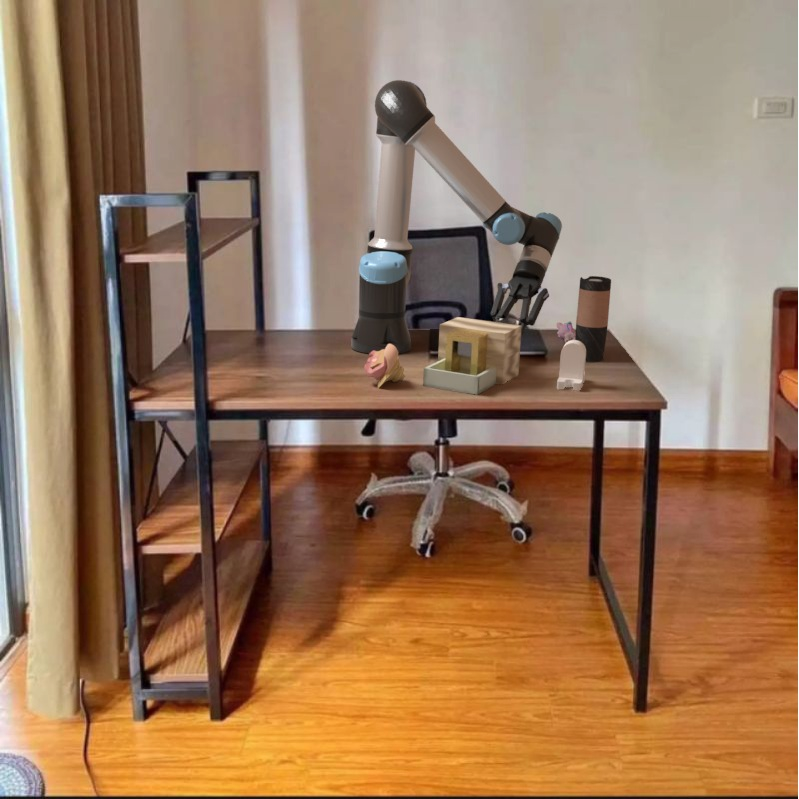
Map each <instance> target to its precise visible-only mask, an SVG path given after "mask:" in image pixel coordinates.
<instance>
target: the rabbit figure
mask: <svg viewBox="0 0 799 799" xmlns="http://www.w3.org/2000/svg"><path fill="white" fill-rule="evenodd" d="M556 328H557V329H558V331H557V333H556V334H557V336H558V338H561V339H563V340H564V344H566V343H567V342H568V341H571V340H575V336H576V329H574V327H573V323H572V321H567V322H564V323H561V322H556Z"/></svg>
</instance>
